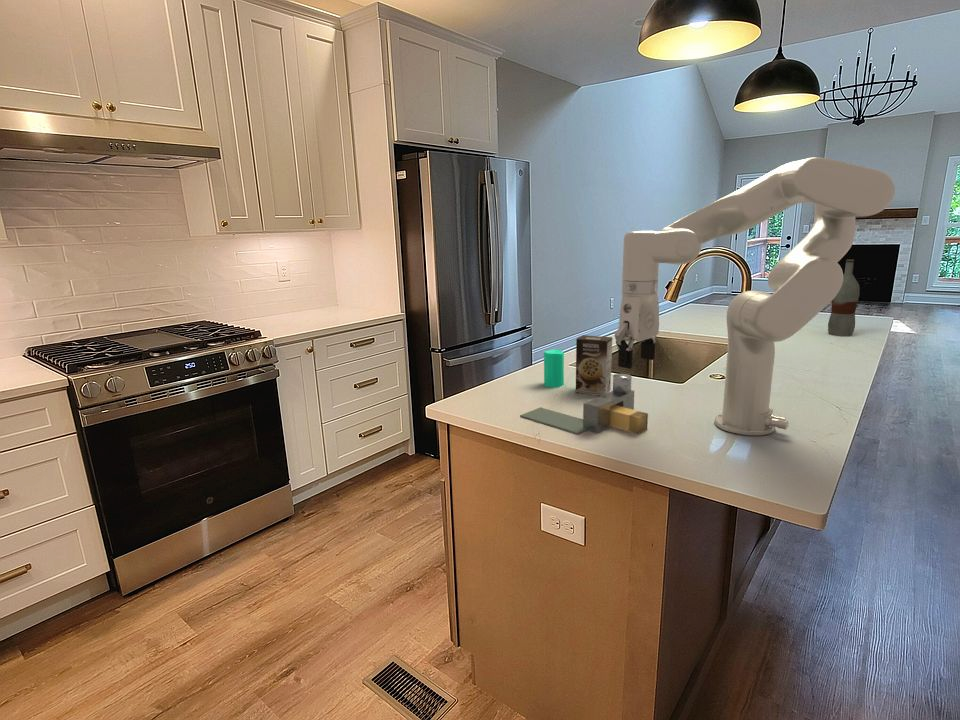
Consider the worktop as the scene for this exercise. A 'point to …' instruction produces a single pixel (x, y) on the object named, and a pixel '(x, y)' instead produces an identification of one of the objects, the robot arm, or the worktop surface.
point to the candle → (553, 368)
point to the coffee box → (593, 364)
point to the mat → (556, 420)
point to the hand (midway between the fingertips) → (636, 363)
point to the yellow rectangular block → (628, 419)
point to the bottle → (845, 305)
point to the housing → (608, 404)
